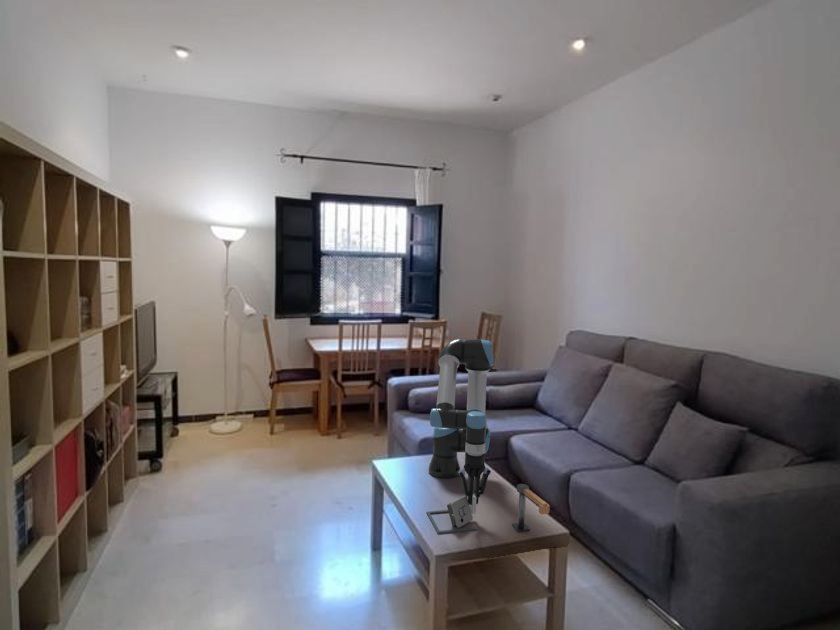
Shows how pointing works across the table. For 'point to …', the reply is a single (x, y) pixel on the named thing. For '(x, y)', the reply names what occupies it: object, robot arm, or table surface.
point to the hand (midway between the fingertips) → (472, 511)
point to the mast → (521, 515)
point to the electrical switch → (460, 512)
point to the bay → (446, 530)
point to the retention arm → (534, 498)
